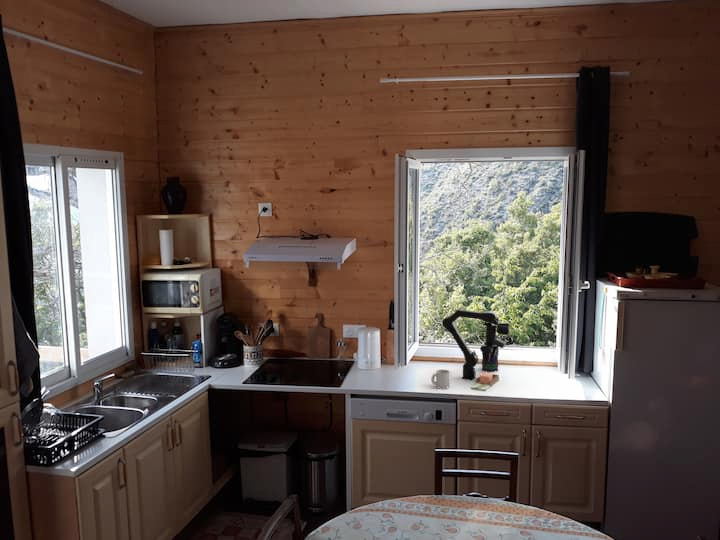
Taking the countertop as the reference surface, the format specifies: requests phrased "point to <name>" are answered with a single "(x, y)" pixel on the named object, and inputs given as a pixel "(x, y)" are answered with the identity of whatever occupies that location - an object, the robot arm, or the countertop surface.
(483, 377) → the block
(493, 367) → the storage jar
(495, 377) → the wooden tray
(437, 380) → the cup
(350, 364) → the countertop surface
